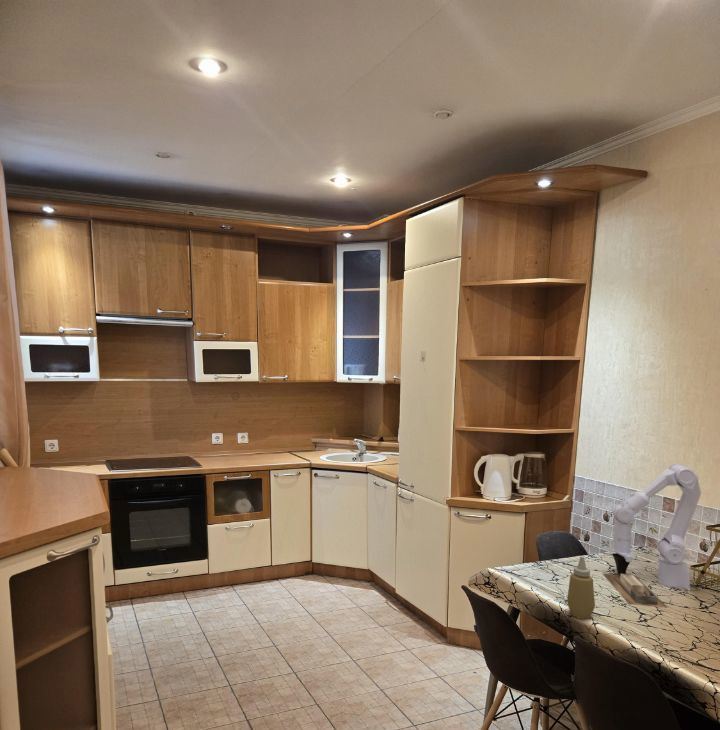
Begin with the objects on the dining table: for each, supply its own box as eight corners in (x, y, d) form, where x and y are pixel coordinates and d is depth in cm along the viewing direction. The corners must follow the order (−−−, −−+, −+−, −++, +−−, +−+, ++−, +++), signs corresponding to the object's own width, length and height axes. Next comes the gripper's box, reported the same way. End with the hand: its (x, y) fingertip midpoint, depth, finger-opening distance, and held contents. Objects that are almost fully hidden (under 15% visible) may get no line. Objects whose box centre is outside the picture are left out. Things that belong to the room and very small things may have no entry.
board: (635, 578, 191) (636, 569, 191) (668, 610, 165) (668, 599, 165) (602, 575, 193) (602, 567, 193) (629, 606, 167) (629, 596, 167)
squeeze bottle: (560, 611, 161) (562, 554, 162) (579, 607, 165) (581, 551, 165) (581, 623, 154) (582, 563, 154) (600, 619, 157) (602, 560, 158)
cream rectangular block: (632, 583, 185) (632, 574, 185) (643, 594, 175) (643, 585, 175) (620, 581, 185) (620, 573, 185) (631, 593, 175) (631, 584, 175)
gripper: (604, 531, 198) (603, 566, 197) (618, 543, 183) (617, 581, 183) (623, 532, 197) (622, 568, 196) (638, 545, 182) (637, 583, 182)
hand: (621, 574), depth 190 cm, fingers closed
